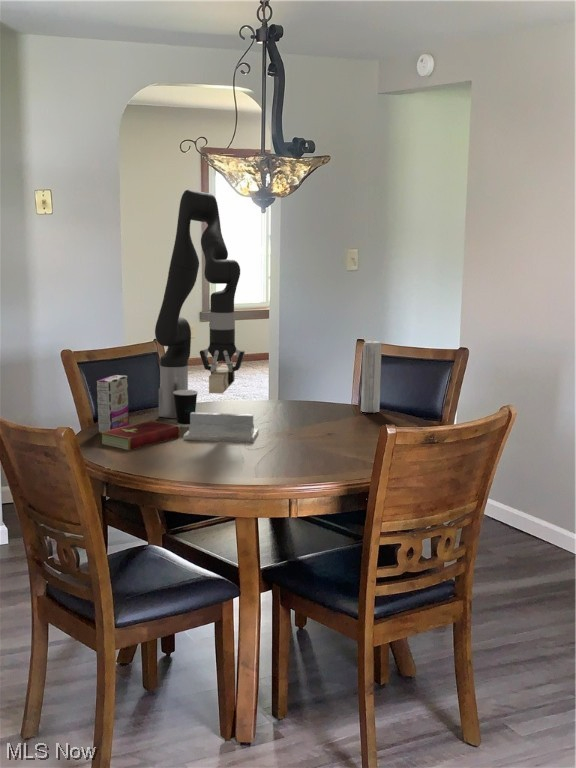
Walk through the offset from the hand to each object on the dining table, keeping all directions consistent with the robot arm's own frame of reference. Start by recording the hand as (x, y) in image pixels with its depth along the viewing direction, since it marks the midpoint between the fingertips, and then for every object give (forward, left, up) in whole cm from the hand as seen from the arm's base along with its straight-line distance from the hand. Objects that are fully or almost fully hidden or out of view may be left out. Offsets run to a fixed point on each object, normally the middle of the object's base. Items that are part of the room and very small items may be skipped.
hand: (222, 383), depth 254 cm
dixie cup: (-14, +13, -17) cm, 25 cm away
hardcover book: (-23, -9, -17) cm, 30 cm away
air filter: (+45, +45, -17) cm, 66 cm away
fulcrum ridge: (0, 0, -16) cm, 16 cm away
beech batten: (0, 0, -1) cm, 1 cm away
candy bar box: (-35, +4, -17) cm, 39 cm away
